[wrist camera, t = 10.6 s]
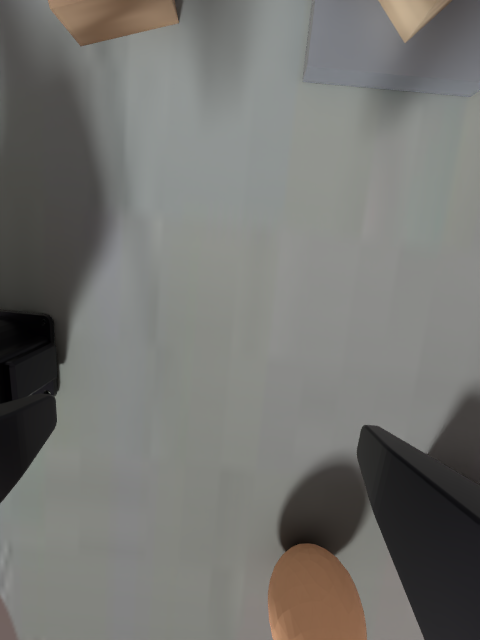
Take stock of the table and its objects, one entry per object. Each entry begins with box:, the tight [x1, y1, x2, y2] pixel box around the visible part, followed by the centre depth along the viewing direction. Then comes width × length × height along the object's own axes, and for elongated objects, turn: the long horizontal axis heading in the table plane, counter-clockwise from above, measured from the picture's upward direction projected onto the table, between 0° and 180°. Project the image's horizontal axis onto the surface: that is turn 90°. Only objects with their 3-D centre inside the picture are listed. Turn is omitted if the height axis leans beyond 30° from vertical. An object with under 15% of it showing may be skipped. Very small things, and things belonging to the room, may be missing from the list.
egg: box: [268, 543, 367, 640], centre depth 22 cm, size 7×7×9 cm
